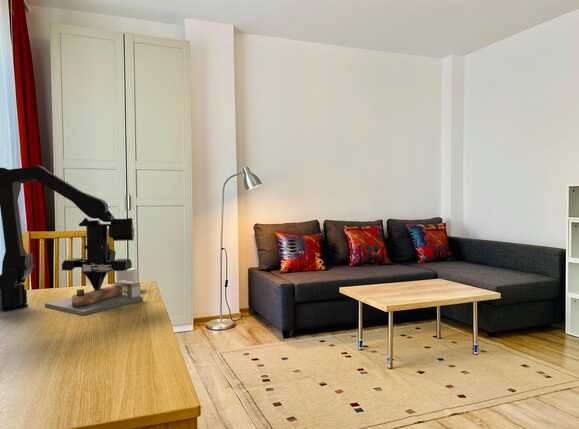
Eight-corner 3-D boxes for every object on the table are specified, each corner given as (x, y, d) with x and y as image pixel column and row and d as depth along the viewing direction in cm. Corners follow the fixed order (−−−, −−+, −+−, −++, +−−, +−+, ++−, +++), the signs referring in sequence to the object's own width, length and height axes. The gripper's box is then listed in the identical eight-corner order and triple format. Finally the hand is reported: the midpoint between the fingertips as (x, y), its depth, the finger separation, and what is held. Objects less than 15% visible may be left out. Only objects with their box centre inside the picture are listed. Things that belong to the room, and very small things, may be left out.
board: (82, 315, 116) (82, 311, 116) (44, 306, 126) (44, 303, 126) (142, 300, 132) (142, 296, 132) (104, 293, 142) (104, 290, 142)
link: (80, 307, 120) (80, 292, 119) (68, 305, 121) (67, 291, 121) (126, 293, 136) (125, 279, 136) (114, 292, 138) (114, 279, 137)
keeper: (132, 298, 130) (131, 284, 130) (114, 295, 134) (113, 281, 134) (140, 296, 132) (139, 282, 132) (122, 293, 137) (122, 280, 137)
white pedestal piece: (115, 288, 149) (115, 268, 149) (137, 286, 152) (136, 266, 152) (117, 292, 143) (116, 271, 143) (139, 290, 146) (138, 269, 146)
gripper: (138, 238, 139) (138, 287, 139) (78, 238, 139) (79, 287, 140) (124, 242, 128) (124, 296, 128) (60, 242, 128) (61, 295, 129)
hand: (97, 293), depth 132 cm, fingers closed
